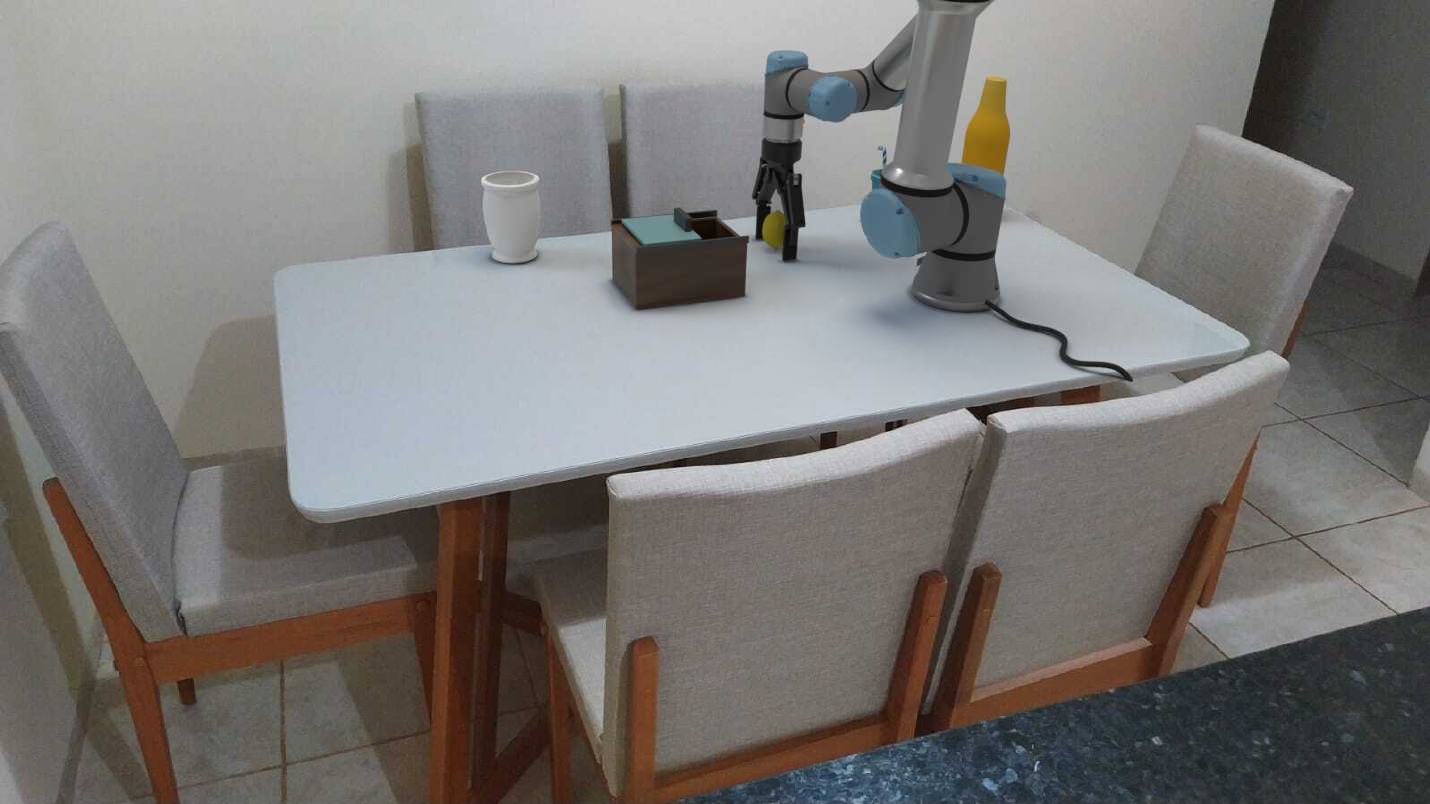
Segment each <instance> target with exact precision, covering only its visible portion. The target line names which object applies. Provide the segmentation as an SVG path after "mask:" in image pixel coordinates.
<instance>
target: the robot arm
mask: <svg viewBox="0 0 1430 804" xmlns="http://www.w3.org/2000/svg"><path fill="white" fill-rule="evenodd" d="M915 1H916V2H917V5H918V11H917V12H916V14H915V15H914V16H913V17H912V18H911V19H910V20H909V21H908V22H907V24H906V25H905V26H904V27H903V28H902V29H901V30H900V31H899V32H898V33H897V35H895V36H894V38H893V39H892V40H891V41H890V42H889V43H888V44H887V45H886V46H885V48H883V49H882V50H881V52H879V54H878V55H877V56H876V57H875V58H873V60H872V61H871V62H870V63H869V64H867V66H865V67H863V68H856V69H855V68H854V69H847V70H839V71H831V72H830V71H829V72H822V71H817V70H813V69H810V68H809V57H808V55H807V54H806V53H805V52H803V51H799V50H790V49H781V50H774V51H772V52H769V54H768V55H767V58H766V64H765V73H764V93H763V94H764V96H763V114H762V125H761V126H762V128H761V135H762V137H763V138H762V140H761V149H760V151H761V152H760V157H759V166H758V171H757V175H756V177H755V178H756V179H755V183H754V186H753V190H752V193H751V199H752V200H754V201H755V205H756V217H755V218H756V220H755V237H754V238H755V239H756V240H764V239H763V234H762V229H763V223H764V220H765V218H766V217H767V216H768V215H769V214H770V213H772V206H771V205H773V202H772V198H773V196H774V194H775V192H776V193H777V195H779V196H780V201H781V205H782V211H783V213H784V216H785V220H786V225H785V226H784V227H783V228H784V236H783V246H782V251H781V252H782V253H781V260H782V261H783V262H787V261H795V260H797V257H798V244H799V231H800V229H801V228H806V226H807V225H806V215H805V214H806V213H805V206H804V205H805V204H804V195H803V175H802V173H801V172H800V173H795V168H794V165H795V164H796V163H797V162H799V161H801V159H802V151H803V141H802V138H803V132H804V124H805V123H806V120H805V118H804V117H805V115H807V116H810V117H813V118H815V119H817V120H821V121H822V122H829V123H834V124H835V123H838V124H839V123H841V122H844V121H846V119H847V118H849V117H850V116H852V115H854V114H859V113H866V112H874V111H886V110H890V109H892V108H897V107H899V106H901V111H900V115H899V116H900V117H899V122H898V129H897V135H896V140H895V147H894V153H893V159H892V161H890V162H889V163H887V165H886V166H885V167H884V168H883V167H882V168H881V169H882V173H881V179H880V185H879V188H878V189H873V190H872V189H871V190H870V191H869V192H868V193H867V194H866V195H865V196H864V198H863V199H862V202H861V205H860V209H859V217H860V225H861V229H862V232H863V235H864V236H865V237H866V239H867V242H868V243H869V245H870V247H871V248H873V250H874V251H875V252H877V253H878V254H879V255H880V256H883V257H884V258H888V259H891V260H892V259H895V260H896V259H902V258H912V257H915V256H916V255H920V254H924V255H923V256H921V257H918V258H917V260H916V265H915V267H916V268H917V267H919V268H918V270H917V272H916V274H915V276H914V277H913V279H912V283H911V294H912V296H914V298H915V299H917V300H918V301H919V302H921V303H923V304H925V305H927V306H930V307H933V308H935V309H936V308H937V309H941V310H945V311H951V312H963V313H969V312H980V311H981V312H982V311H986V310H989V309H991V310H993V311H994V312H996V313H997V314H998V315H1000V316H1001V317H1003V318H1004V319H1005V320H1006V321H1008V322H1010V323H1011V324H1014V325H1016V326H1019V327H1022V328H1026V329H1030V330H1034V331H1039V332H1044V333H1048V334H1050V335H1053V336H1056V338H1058V339H1060V341H1061V344H1060V348H1059V355H1060V358H1061V359H1062V360H1064V361H1065V362H1066V363H1068V364H1070V365H1073V366H1076V367H1082V368H1100V369H1102V368H1103V369H1109V370H1112V371H1115V372H1117V373H1119V374H1120V375H1121V376H1122V377H1123V379H1124V380H1125V381H1127V382H1129V383H1133V382H1134V379H1133V377H1132V375H1131V374H1130V373H1129V372H1128V371H1127V370H1126V369H1125V368H1123V367H1122V366H1120V365H1119V364H1115V363H1114V362H1113V363H1112V362H1108V361H1098V360H1097V361H1095V360H1080V359H1075V358H1073V357H1071V356H1070V355H1068V354H1067V352H1066V351H1067V347H1068V344H1069V341H1068V338H1067V336H1066V335H1065V334H1064V333H1063V332H1061V331H1060V330H1058V329H1055V328H1052V327H1049V326H1046V325H1040V324H1037V323H1036V324H1035V323H1030V322H1027V321H1023V320H1020V319H1018V318H1015V317H1014V316H1012V315H1010V314H1009V313H1008V312H1006V311H1005V310H1004V309H1002V308H1001V307H999V306H998V305H997V304H998V303H999V300H1000V293H1001V290H1000V289H1001V288H1000V283H999V282H1000V281H999V275H998V270H997V264H996V253H997V247H998V241H999V236H1000V230H1001V224H1002V218H1003V213H1004V207H1005V201H1006V200H1007V197H1006V193H1007V179H1006V178H1005V176H1003V175H1002V174H1000V173H998V172H996V171H994V170H991V169H987V168H984V167H980V166H975V165H969V164H962V163H961V162H949V159H950V154H951V149H952V144H953V138H954V133H955V128H956V124H957V123H956V122H957V117H958V113H959V107H960V102H961V99H962V98H961V97H962V94H963V93H962V92H963V87H964V82H965V77H966V72H967V67H968V62H969V58H970V57H969V56H970V52H971V46H972V41H973V37H974V32H975V28H976V27H975V26H976V21H977V18H978V17H979V16H980V15H981V14H982V13H984V11H985V10H987V8H988V7H990V5H992V4H993V2H994V1H995V0H915Z"/></svg>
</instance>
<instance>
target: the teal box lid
mask: <svg viewBox="0 0 1430 804" xmlns="http://www.w3.org/2000/svg"><path fill="white" fill-rule="evenodd" d="M686 212H687V211H685V210H684V209H682V208H681V207H674V208H673V213H672V214H673V215H664V214H661V215H662V216H654V215H650V216H651V217H643V216H640V217H641V218H632V217H629V218H630V219H622V218H621V219H622V220H621V222H622V223H623V224H624V226H625V227H626V228H627V229H628V230H629V231H630V232H631V233H632V234H633V235H634V236H635V237H636V238H637V239H638V240H639V241H640V242H641V243H642V244H643V246H651V245H661V244H670V243H680V242H689V241H699V240H702V238H701V237H700V236H699V235H698V234H696V233H695V232H694V231H693V230H692V218H691V217H690V216H689V215H688V214H687V213H686Z"/></svg>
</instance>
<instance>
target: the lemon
mask: <svg viewBox="0 0 1430 804" xmlns="http://www.w3.org/2000/svg"><path fill="white" fill-rule="evenodd" d="M785 225H786V220H785V216H784V212H782V211H781V210H779V209H776V210H775V211H773V212H772V211H771V213H770V214H769V215H768V216H767V217H766V218H765V220H764V223H763V229H762V234H763V239H762V240H763V241H764V242H765V243H766V245H767V246H769V247H770V248H772V249H773V250H774V251H776V250H777V251H778V249H780V248H783V236H784V228H783V227H784V226H785Z"/></svg>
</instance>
